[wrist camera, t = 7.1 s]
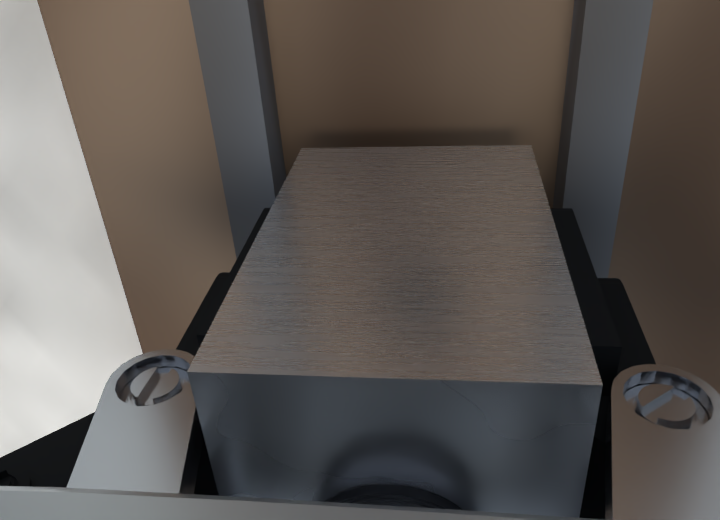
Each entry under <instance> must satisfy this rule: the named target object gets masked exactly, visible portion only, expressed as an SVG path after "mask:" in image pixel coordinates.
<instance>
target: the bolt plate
mask: <svg viewBox="0 0 720 520" xmlns="http://www.w3.org/2000/svg"><path fill="white" fill-rule="evenodd" d="M37 1H38V4H39V8H40V11H41V14H42V18H43V21H44V24H45V28H46V31H47V34H48V38H49V41H50V44H51V48H52V51H53V54H54V58H55V61H56V64H57V68H58V71H59V74H60V78H61V81H62V84H63V88H64V91H65V94H66V98H67V101H68V104H69V108H70V111H71V114H72V118H73V121H74V124H75V128H76V131H77V135H78V138H79V141H80V145H81V148H82V151H83V155H84V158H85V161H86V165H87V168H88V171H89V175H90V178H91V181H92V185H93V188H94V191H95V195H96V198H97V201H98V205H99V208H100V211H101V215H102V218H103V221H104V225H105V228H106V231H107V235H108V238H109V241H110V245H111V248H112V251H113V255H114V258H115V261H116V265H117V268H118V271H119V275H120V278H121V281H122V285H123V288H124V291H125V295H126V298H127V301H128V305H129V308H130V311H131V315H132V318H133V321H134V325H135V328H136V332H137V335H138V338H139V342H140V345H141V348H142V352H143V354H144V353H147V352H151V351H156V350H162V349H176V348H177V346H178V344H179V343H180V341H181V339H182V337H183V335H184V334H185V332H186V330H187V328H188V326H189V325H190V323H191V321H192V319H193V318H194V316H195V314H196V312H197V310H198V309H199V307H200V305H201V303H202V301H203V300H204V298H205V296H206V294H207V293H208V291H209V289H210V287H211V285H212V284H213V282H214V280H215V278H216V277H217V276H218V274H219V273H222V272H230V271H231V269H232V267H233V265H234V264H235V262H236V260H237V258H238V256H239V254H240V252H241V250H242V249H243V247H244V245H245V243H246V241H247V239H248V237H249V235H250V234H251V232H252V230H253V228H254V226H255V224H256V222H257V220H258V219H259V217H260V215H261V213H262V211H263V209H264V208H271V207H272V205H273V203H274V201H275V199H276V197H277V195H278V193H279V191H280V189H281V187H282V185H283V183H284V182H285V180H286V178H287V176H288V174H289V172H290V170H291V168H292V166H293V164H294V162H295V160H296V158H297V156H298V154H299V152H300V150H301V148H348V147H418V146H488V145H531V146H532V149H533V153H534V156H535V159H536V163H537V166H538V170H539V173H540V176H541V180H542V183H543V186H544V190H545V193H546V196H547V200H548V203H549V206H550V208H572V210H573V212H574V215H575V217H576V220H577V223H578V226H579V228H580V231H581V234H582V237H583V240H584V242H585V245H586V248H587V251H588V253H589V256H590V259H591V262H592V265H593V267H594V270H595V273H596V276H597V278H618V279H620V280H621V282H622V283H623V285H624V288H625V290H626V292H627V295H628V297H629V300H630V302H631V305H632V307H633V309H634V312H635V314H636V317H637V319H638V321H639V324H640V326H641V329H642V331H643V333H644V336H645V338H646V341H647V343H648V345H649V348H650V350H651V353H652V355H653V357H654V360H655V362H656V364H657V365H666V366H670V367H675V368H679V369H682V370H684V371H687V372H689V373H691V374H694V375H696V376H698V377H699V378H701V379H702V380H704V381H705V382H707V383H708V384H710V385H711V386H712V387H713V388H714V389H715V391H716V392H717V393H718V394H719V395H720V0H37Z"/></svg>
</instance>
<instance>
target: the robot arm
mask: <svg viewBox="0 0 720 520" xmlns="http://www.w3.org/2000/svg"><path fill="white" fill-rule="evenodd" d="M270 209H271V208H264V209H263V211H262V213H261V215H260V217H259V219H258V220H257V222H256V224H255V226H254V228H253V230H252V232H251V234H250V235H249V237H248V239H247V241H246V243H245V245H244V247H243V249H242V250H241V252H240V254H239V256H238V258H237V260H236V262H235V264H234V265H233V267H232V269H231V271H230V272H222V273H219V274H218V276H217V277H216V278H215V280H214V282H213V284H212V285H211V287H210V289H209V291H208V293H207V294H206V296H205V298H204V300H203V301H202V303H201V305H200V307H199V309H198V310H197V312H196V314H195V316H194V318H193V319H192V321H191V323H190V325H189V326H188V328H187V330H186V332H185V334H184V335H183V337H182V339H181V341H180V343H179V344H178V346H177V348H176V349H162V350H156V351H151V352H147V353H144V354H142V355H139V356H136V357H134V358H132V359H131V360H129V361H127V362H126V363H124V364H122V365H121V366H120V367H119V368H118V369H117V370H116V371H115V372H113V373H112V375H111V376H110V378H109V380H108V381H107V383H106V385H105V388H104V390H103V393H102V395H101V398H100V401H99V403H98V406H97V409H96V411H95V412H94V413H92V414H90V415H88V416H86V417H84V418H82V419H80V420H78V421H76V422H73V423H71V424H69V425H67V426H65V427H63V428H61V429H59V430H57V431H55V432H53V433H51V434H49V435H47V436H44V437H42V438H40V439H38V440H36V441H34V442H32V443H30V444H28V445H26V446H24V447H22V448H20V449H18V450H15V451H13V452H11V453H9V454H7V455H5V456H3V457H1V458H0V520H720V395H719V394H718V393H717V392H716V391H715V389H714V388H713V387H712V386H711V385H710V384H708V383H707V382H705V381H704V380H702V379H701V378H699V377H698V376H696V375H694V374H691V373H689V372H687V371H684V370H682V369H679V368H675V367H670V366H666V365H657V364H656V362H655V360H654V357H653V355H652V353H651V350H650V348H649V345H648V343H647V341H646V338H645V336H644V333H643V331H642V329H641V326H640V324H639V321H638V319H637V317H636V314H635V312H634V309H633V307H632V305H631V302H630V300H629V297H628V295H627V292H626V290H625V288H624V285H623V283H622V282H621V280H620V279H618V278H597V276H596V273H595V270H594V267H593V265H592V262H591V259H590V256H589V253H588V251H587V248H586V245H585V242H584V240H583V237H582V234H581V231H580V228H579V226H578V223H577V220H576V217H575V215H574V212H573V210H572V208H550V210H551V213H552V216H553V220H554V223H555V227H556V230H557V233H558V237H559V240H560V243H561V247H562V250H563V253H564V257H565V260H566V263H567V267H568V270H569V273H570V277H571V280H572V283H573V287H574V290H575V294H576V297H577V300H578V304H579V307H580V310H581V314H582V317H583V320H584V324H585V327H586V330H587V334H588V337H589V340H590V344H591V347H592V350H593V354H594V357H595V361H596V364H597V367H598V371H599V374H600V377H601V381H602V384H603V387H602V393H601V398H600V404H599V410H598V415H597V421H596V427H595V432H594V438H593V443H592V449H591V455H590V460H589V466H588V471H587V477H586V483H585V488H584V494H583V500H582V505H581V511H580V516H579V518H575V517H560V516H545V515H530V514H515V513H499V512H484V511H469V510H452V509H436V508H420V507H404V506H388V505H371V504H354V503H338V502H321V501H304V500H287V499H270V498H252V497H234V496H219V493H218V489H217V486H216V482H215V478H214V474H213V470H212V466H211V463H210V459H209V455H208V451H207V447H206V443H205V439H204V436H203V432H202V428H201V424H200V420H199V416H198V412H197V409H196V405H195V401H194V397H193V393H192V389H191V385H190V382H189V378H188V374H187V371H188V369H189V367H190V365H191V363H192V361H193V359H194V357H195V355H196V353H197V351H198V349H199V347H200V346H201V344H202V342H203V340H204V338H205V336H206V334H207V332H208V330H209V328H210V326H211V324H212V322H213V320H214V318H215V316H216V314H217V312H218V310H219V308H220V306H221V305H222V303H223V301H224V299H225V297H226V295H227V293H228V291H229V289H230V287H231V285H232V283H233V281H234V279H235V277H236V275H237V273H238V271H239V269H240V267H241V265H242V264H243V262H244V260H245V258H246V256H247V254H248V252H249V250H250V248H251V246H252V244H253V242H254V240H255V238H256V236H257V234H258V232H259V230H260V228H261V226H262V224H263V223H264V221H265V219H266V217H267V215H268V213H269V211H270Z"/></svg>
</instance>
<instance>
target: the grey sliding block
mask: <svg viewBox="0 0 720 520" xmlns="http://www.w3.org/2000/svg"><path fill="white" fill-rule="evenodd" d="M187 374H188V378H189V382H190V385H191V389H192V393H193V397H194V401H195V405H196V409H197V412H198V416H199V420H200V424H201V428H202V432H203V436H204V439H205V443H206V447H207V451H208V455H209V459H210V463H211V466H212V470H213V474H214V478H215V482H216V486H217V489H218V493H219V496H234V497H252V498H270V499H287V500H304V501H321V502H338V503H354V504H371V505H388V506H404V507H420V508H436V509H452V510H469V511H484V512H499V513H515V514H530V515H545V516H560V517H575V518H579V516H580V511H581V505H582V500H583V494H584V488H585V483H586V477H587V471H588V466H589V460H590V455H591V449H592V443H593V438H594V432H595V427H596V421H597V415H598V410H599V404H600V398H601V393H602V387H603V384H602V381H601V377H600V374H599V371H598V367H597V364H596V361H595V357H594V354H593V350H592V347H591V344H590V340H589V337H588V334H587V330H586V327H585V324H584V320H583V317H582V314H581V310H580V307H579V304H578V300H577V297H576V294H575V290H574V287H573V283H572V280H571V277H570V273H569V270H568V267H567V263H566V260H565V257H564V253H563V250H562V247H561V243H560V240H559V237H558V233H557V230H556V227H555V223H554V220H553V216H552V213H551V210H550V206H549V203H548V200H547V196H546V193H545V190H544V186H543V183H542V180H541V176H540V173H539V170H538V166H537V163H536V159H535V156H534V153H533V149H532V146H531V145H488V146H418V147H348V148H301V150H300V152H299V154H298V156H297V158H296V160H295V162H294V164H293V166H292V168H291V170H290V172H289V174H288V176H287V178H286V180H285V182H284V183H283V185H282V187H281V189H280V191H279V193H278V195H277V197H276V199H275V201H274V203H273V205H272V207H271V209H270V211H269V213H268V215H267V217H266V219H265V221H264V223H263V224H262V226H261V228H260V230H259V232H258V234H257V236H256V238H255V240H254V242H253V244H252V246H251V248H250V250H249V252H248V254H247V256H246V258H245V260H244V262H243V264H242V265H241V267H240V269H239V271H238V273H237V275H236V277H235V279H234V281H233V283H232V285H231V287H230V289H229V291H228V293H227V295H226V297H225V299H224V301H223V303H222V305H221V306H220V308H219V310H218V312H217V314H216V316H215V318H214V320H213V322H212V324H211V326H210V328H209V330H208V332H207V334H206V336H205V338H204V340H203V342H202V344H201V346H200V347H199V349H198V351H197V353H196V355H195V357H194V359H193V361H192V363H191V365H190V367H189V369H188V371H187Z"/></svg>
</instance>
